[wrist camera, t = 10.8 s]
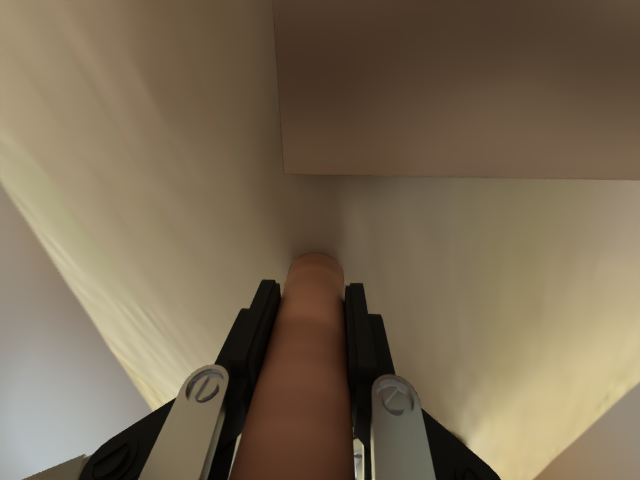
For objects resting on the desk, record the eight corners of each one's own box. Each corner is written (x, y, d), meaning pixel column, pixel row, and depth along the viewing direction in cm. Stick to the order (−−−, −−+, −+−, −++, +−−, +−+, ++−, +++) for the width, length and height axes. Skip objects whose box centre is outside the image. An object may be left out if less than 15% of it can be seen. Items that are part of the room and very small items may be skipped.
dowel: (342, 298, 14) (354, 560, 6) (290, 297, 14) (230, 549, 6) (345, 253, 12) (364, 516, 4) (286, 252, 12) (200, 503, 4)
